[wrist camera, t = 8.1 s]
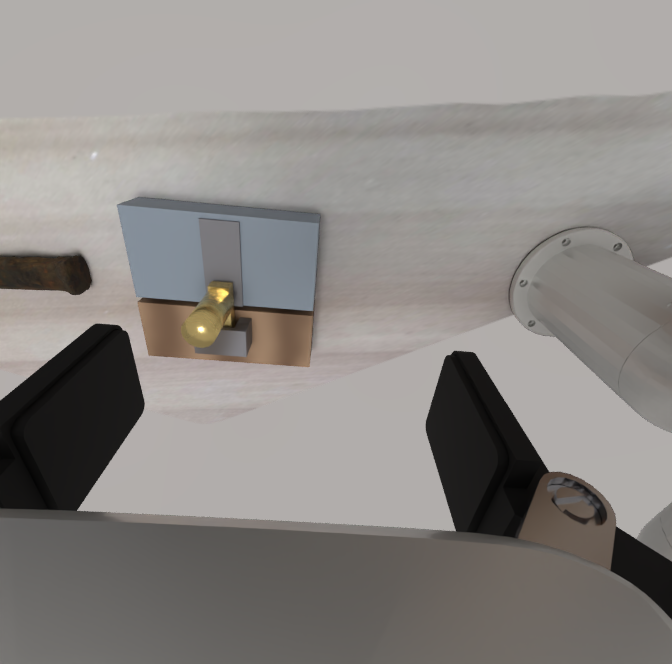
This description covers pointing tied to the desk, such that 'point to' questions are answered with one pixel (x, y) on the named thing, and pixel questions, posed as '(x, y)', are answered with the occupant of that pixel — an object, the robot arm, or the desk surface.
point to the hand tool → (45, 274)
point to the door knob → (210, 315)
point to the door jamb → (231, 334)
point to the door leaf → (221, 252)
